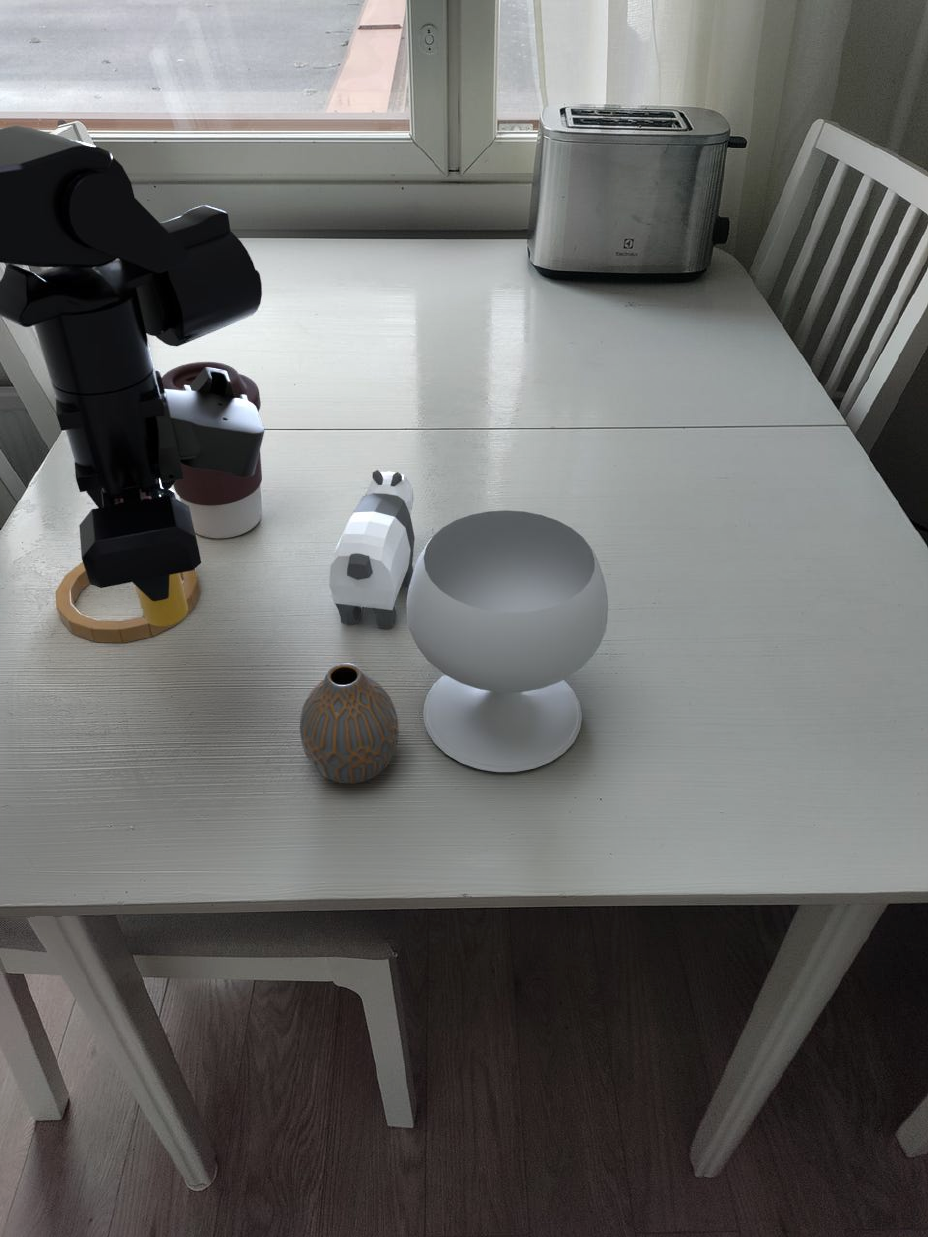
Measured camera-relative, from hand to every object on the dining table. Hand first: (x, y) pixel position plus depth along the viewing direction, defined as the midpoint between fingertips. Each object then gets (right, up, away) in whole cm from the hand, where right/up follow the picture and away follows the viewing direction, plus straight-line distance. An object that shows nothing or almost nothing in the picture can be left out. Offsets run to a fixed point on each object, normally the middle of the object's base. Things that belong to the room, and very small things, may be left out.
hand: (158, 584), depth 65 cm
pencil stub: (0, -2, +2) cm, 3 cm away
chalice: (+24, -10, +8) cm, 27 cm away
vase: (+13, -13, +5) cm, 19 cm away
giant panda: (+14, 0, +20) cm, 24 cm away
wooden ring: (-8, -1, +19) cm, 21 cm away
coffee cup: (-2, +7, +29) cm, 30 cm away
